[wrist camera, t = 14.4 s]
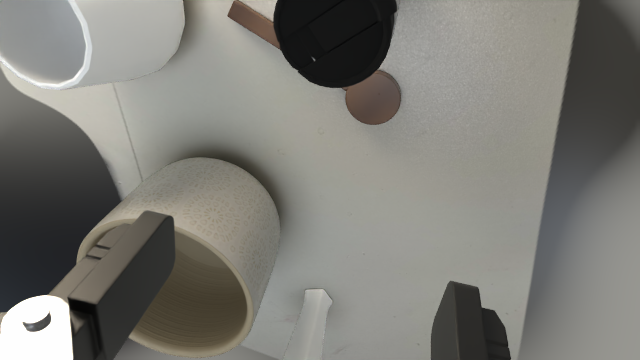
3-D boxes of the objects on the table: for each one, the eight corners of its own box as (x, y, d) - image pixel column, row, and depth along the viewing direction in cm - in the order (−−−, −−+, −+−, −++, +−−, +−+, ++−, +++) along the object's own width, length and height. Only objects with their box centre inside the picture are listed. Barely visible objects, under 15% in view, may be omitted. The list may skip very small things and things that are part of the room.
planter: (127, 173, 56) (39, 256, 43) (236, 112, 49) (171, 189, 36) (212, 275, 62) (158, 373, 49) (320, 233, 55) (290, 335, 42)
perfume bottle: (333, 315, 62) (310, 423, 49) (301, 308, 62) (270, 413, 49) (337, 289, 59) (314, 396, 47) (303, 283, 60) (271, 386, 47)
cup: (176, -99, 40) (74, -97, 28) (218, 58, 46) (149, 112, 35) (45, -72, 43) (-97, -60, 31) (101, 71, 49) (1, 125, 38)
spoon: (222, 31, 45) (218, 33, 44) (244, -19, 42) (241, -18, 41) (381, 130, 47) (380, 134, 46) (411, 88, 44) (411, 92, 43)
